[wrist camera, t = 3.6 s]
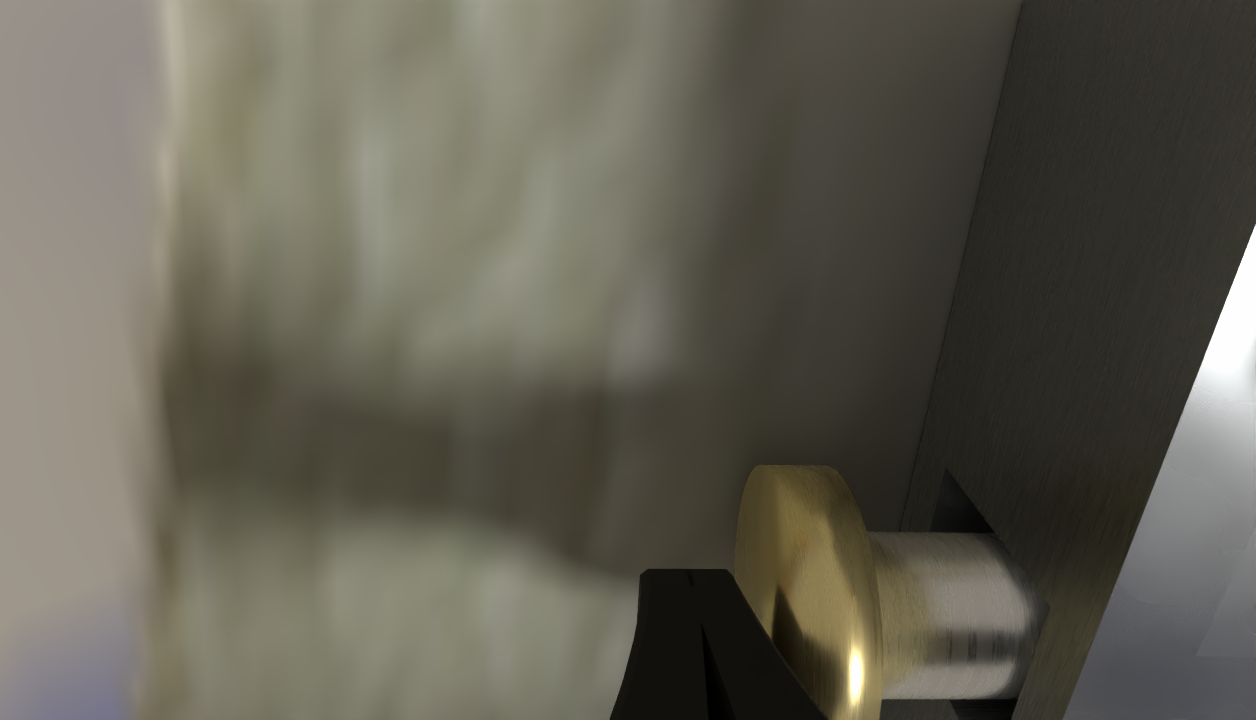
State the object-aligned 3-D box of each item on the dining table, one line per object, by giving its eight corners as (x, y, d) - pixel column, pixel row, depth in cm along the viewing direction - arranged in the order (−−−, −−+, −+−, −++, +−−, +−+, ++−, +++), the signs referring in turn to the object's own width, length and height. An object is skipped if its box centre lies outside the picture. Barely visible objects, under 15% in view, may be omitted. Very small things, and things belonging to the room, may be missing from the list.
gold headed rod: (1330, 423, 13) (1647, 606, 9) (1234, 620, 15) (1464, 844, 11) (751, 413, 13) (822, 602, 9) (725, 618, 15) (774, 851, 11)
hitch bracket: (1437, 18, 11) (2034, 32, 6) (1119, 740, 17) (1310, 1009, 12) (1024, -2, 11) (1343, -2, 6) (850, 740, 17) (946, 1017, 12)
